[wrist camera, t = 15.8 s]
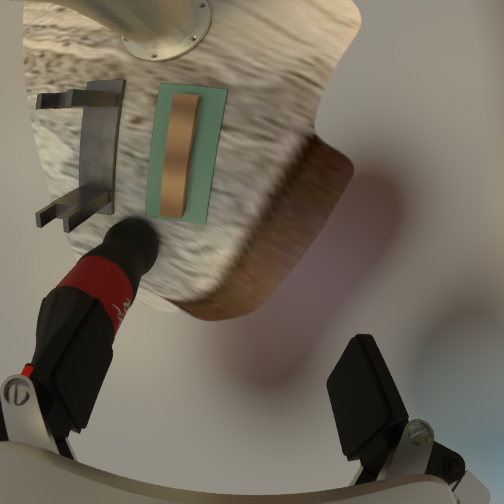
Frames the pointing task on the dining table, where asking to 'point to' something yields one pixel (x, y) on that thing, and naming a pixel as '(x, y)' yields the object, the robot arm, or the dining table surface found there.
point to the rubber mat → (202, 149)
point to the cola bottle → (100, 281)
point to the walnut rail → (179, 154)
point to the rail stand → (88, 152)
